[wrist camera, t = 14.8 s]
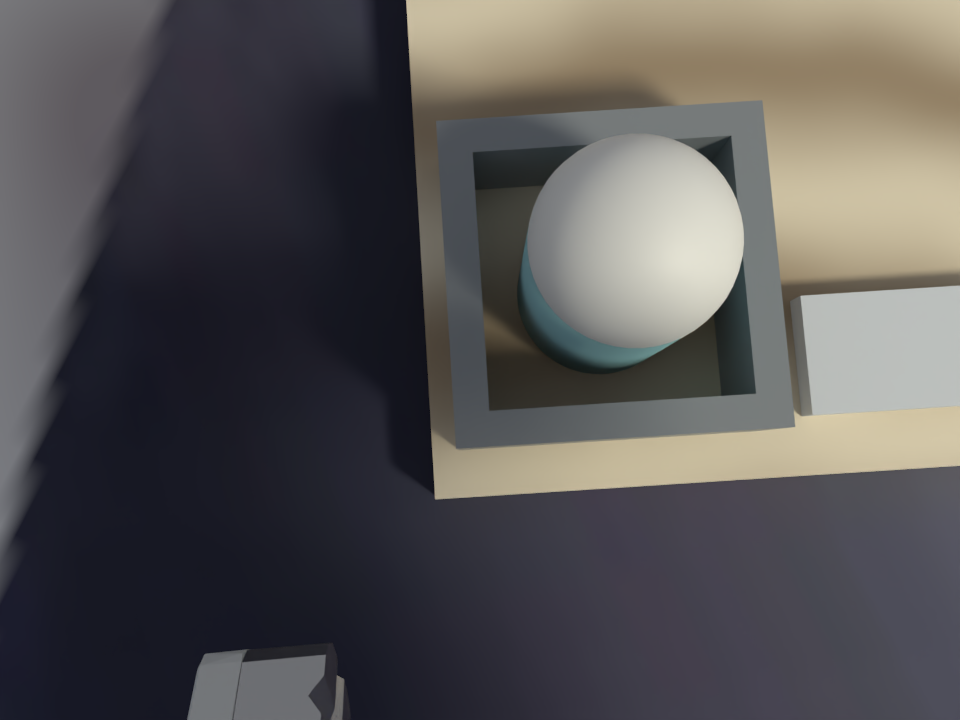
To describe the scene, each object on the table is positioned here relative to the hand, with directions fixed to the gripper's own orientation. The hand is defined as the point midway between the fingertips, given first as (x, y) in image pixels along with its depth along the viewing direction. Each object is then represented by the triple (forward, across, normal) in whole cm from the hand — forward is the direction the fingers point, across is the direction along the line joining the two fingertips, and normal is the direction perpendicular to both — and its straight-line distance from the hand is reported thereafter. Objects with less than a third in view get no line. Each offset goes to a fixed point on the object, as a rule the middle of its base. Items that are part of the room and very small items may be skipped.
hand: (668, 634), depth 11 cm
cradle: (+13, -1, +4) cm, 14 cm away
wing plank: (+11, -11, +6) cm, 17 cm away
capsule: (+13, -1, +4) cm, 14 cm away
